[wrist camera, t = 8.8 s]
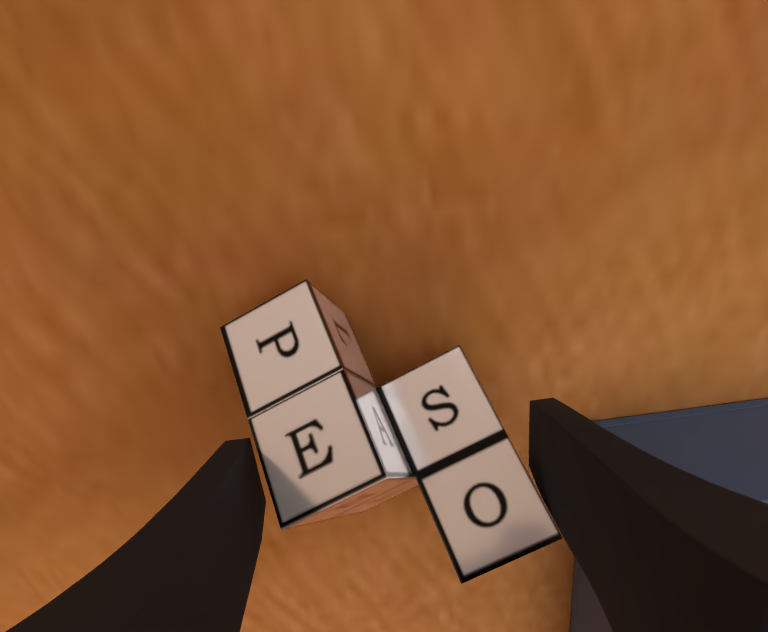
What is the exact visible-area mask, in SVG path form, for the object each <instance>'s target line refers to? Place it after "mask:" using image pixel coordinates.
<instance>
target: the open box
mask: <svg viewBox="0 0 768 632" xmlns="http://www.w3.org/2000/svg"><path fill="white" fill-rule="evenodd" d="M593 422H594V423H596V424H598V425H599V426H601V427H603V428H604V429H606V430H608V431H609V432H611V433H613V434H615V435H616V436H618V437H620V438H622V439H623V440H625V441H627V442H629V443H630V444H632V445H634V446H636V447H638V448H640V449H641V450H643V451H645V452H647V453H649V454H651V455H653V456H655V457H657V458H659V459H661V460H663V461H665V462H667V463H669V464H671V465H673V466H675V467H677V468H679V469H682V470H684V471H686V472H688V473H691V474H693V475H695V476H697V477H700V478H702V479H704V480H706V481H709V482H711V483H714V484H716V485H719V486H721V487H724V488H726V489H729V490H731V491H734V492H737V493H740V494H742V495H745V496H748V497H750V498H753V499H756V500H759V501H761V502H764V503H767V504H768V398H766V399H758V400H751V401H743V402H736V403H728V404H721V405H713V406H706V407H698V408H690V409H683V410H675V411H668V412H660V413H653V414H645V415H638V416H630V417H623V418H615V419H608V420H600V421H593ZM570 632H613V631H612V629H611V626H610V624H609V622H608V620H607V618H606V615H605V613H604V611H603V609H602V606H601V604H600V602H599V600H598V598H597V596H596V594H595V592H594V590H593V588H592V586H591V584H590V582H589V581H588V579H587V577H586V575H585V574H584V572H583V570H582V568H581V567H580V565H579V563H578V561H577V560H576V558H575V566H574V581H573V596H572V610H571V625H570Z"/></svg>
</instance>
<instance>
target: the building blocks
mask: <svg viewBox="0 0 768 632" xmlns="http://www.w3.org/2000/svg"><path fill="white" fill-rule="evenodd" d="M220 328H221V331H222V335H223V338H224V341H225V345H226V348H227V351H228V355H229V358H230V361H231V365H232V368H233V371H234V375H235V378H236V381H237V384H238V388H239V391H240V394H241V398H242V401H243V404H244V408H245V411H246V414H247V418H248V421H249V424H250V428H251V431H252V434H253V438H254V441H255V444H256V448H257V451H258V454H259V458H260V461H261V464H262V468H263V471H264V474H265V478H266V481H267V484H268V487H269V491H270V494H271V497H272V501H273V504H274V507H275V511H276V514H277V517H278V521H279V524H280V527H281V530H285V529H290V528H294V527H298V526H303V525H307V524H312V523H316V522H321V521H325V520H330V519H334V518H339V517H343V516H348V515H352V514H356V513H361V512H363V511H365V510H367V509H369V508H371V507H373V506H376V505H378V504H380V503H382V502H384V501H386V500H388V499H390V498H392V497H394V496H396V495H398V494H400V493H402V492H404V491H407V490H409V489H411V488H413V487H415V486H417V485H419V487H420V489H421V492H422V494H423V496H424V498H425V501H426V503H427V505H428V508H429V510H430V512H431V515H432V517H433V519H434V522H435V524H436V526H437V529H438V531H439V533H440V535H441V538H442V540H443V542H444V545H445V547H446V549H447V552H448V554H449V556H450V559H451V561H452V563H453V566H454V568H455V570H456V573H457V575H458V577H459V579H460V582H461V584H462V583H464V582H466V581H469V580H471V579H473V578H475V577H478V576H480V575H482V574H484V573H486V572H489V571H491V570H493V569H495V568H498V567H500V566H502V565H504V564H506V563H509V562H511V561H513V560H515V559H518V558H520V557H522V556H524V555H526V554H529V553H531V552H533V551H535V550H538V549H540V548H542V547H544V546H546V545H549V544H551V543H553V542H555V541H557V540H560V539H562V536H561V534H560V532H559V530H558V527H557V526H556V524H555V522H554V520H553V518H552V516H551V514H550V512H549V511H548V509H547V507H546V505H545V503H544V501H543V499H542V497H541V496H540V494H539V492H538V490H537V488H536V486H535V484H534V482H533V481H532V479H531V477H530V475H529V473H528V471H527V469H526V467H525V466H524V464H523V462H522V460H521V458H520V456H519V454H518V452H517V451H516V449H515V447H514V445H513V443H512V441H511V439H510V437H509V436H508V434H507V432H506V430H505V428H504V426H503V424H502V422H501V421H500V419H499V417H498V415H497V413H496V411H495V409H494V407H493V406H492V404H491V402H490V400H489V398H488V396H487V394H486V392H485V391H484V389H483V387H482V385H481V383H480V381H479V379H478V377H477V376H476V374H475V372H474V370H473V368H472V366H471V364H470V363H469V361H468V359H467V357H466V356H465V354H464V352H463V350H462V348H461V347H460V345H459V346H457V347H455V348H453V349H451V350H449V351H447V352H445V353H443V354H442V355H440V356H438V357H436V358H434V359H432V360H430V361H428V362H426V363H424V364H422V365H420V366H418V367H416V368H414V369H413V370H411V371H409V372H407V373H405V374H403V375H401V376H399V377H397V378H395V379H393V380H391V381H389V382H387V383H385V384H384V385H382V386H380V387H378V388H377V387H376V385H375V383H374V381H373V378H372V376H371V374H370V371H369V369H368V367H367V364H366V362H365V360H364V357H363V355H362V353H361V350H360V348H359V346H358V344H357V341H356V339H355V337H354V334H353V332H352V330H351V327H350V325H349V323H348V320H347V318H346V316H345V313H344V311H342V310H341V309H340V308H339V307H338V306H337V305H336V304H334V303H333V302H332V301H331V300H330V299H329V298H327V297H326V296H325V295H324V294H323V293H322V292H320V291H319V290H318V289H317V288H316V287H315V286H313V285H312V284H311V283H310V282H309V281H308V280H304V281H302V282H301V283H299V284H297V285H295V286H293V287H292V288H290V289H288V290H286V291H284V292H283V293H281V294H279V295H277V296H276V297H274V298H272V299H270V300H268V301H267V302H265V303H263V304H261V305H259V306H258V307H256V308H254V309H252V310H250V311H249V312H247V313H245V314H243V315H242V316H240V317H238V318H236V319H234V320H233V321H231V322H229V323H227V324H225V325H224V326H222V327H220Z"/></svg>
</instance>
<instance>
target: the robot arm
mask: <svg viewBox="0 0 768 632" xmlns="http://www.w3.org/2000/svg"><path fill="white" fill-rule="evenodd" d="M529 467H530V469H531V472H532V474H533V477H534V479H535V482H536V485H537V487H538V489H539V492H540V494H541V496H542V499H543V501H544V503H545V505H546V506H547V508H548V510H549V512H550V514H551V515H552V517H553V519H554V521H555V523H556V524H557V526H558V528H559V530H560V531H561V533H562V535H563V537H564V538H565V540H566V542H567V544H568V545H569V547H570V549H571V551H572V553H573V554H574V556H575V558H576V560H577V561H578V563H579V565H580V567H581V568H582V570H583V572H584V574H585V575H586V577H587V579H588V581H589V582H590V584H591V586H592V588H593V590H594V592H595V594H596V596H597V598H598V600H599V602H600V604H601V606H602V609H603V611H604V613H605V615H606V618H607V620H608V622H609V624H610V626H611V629H612V631H613V632H768V504H767V503H764V502H761V501H759V500H756V499H753V498H750V497H748V496H745V495H742V494H740V493H737V492H734V491H731V490H729V489H726V488H724V487H721V486H719V485H716V484H714V483H711V482H709V481H706V480H704V479H702V478H700V477H697V476H695V475H693V474H691V473H688V472H686V471H684V470H682V469H679V468H677V467H675V466H673V465H671V464H669V463H667V462H665V461H663V460H661V459H659V458H657V457H655V456H653V455H651V454H649V453H647V452H645V451H643V450H641V449H640V448H638V447H636V446H634V445H632V444H630V443H629V442H627V441H625V440H623V439H622V438H620V437H618V436H616V435H615V434H613V433H611V432H609V431H608V430H606V429H604V428H603V427H601V426H599V425H598V424H596V423H594V422H593V421H591V420H590V419H588V418H586V417H585V416H583V415H581V414H580V413H578V412H577V411H575V410H573V409H572V408H570V407H568V406H567V405H565V404H563V403H562V402H560V401H558V400H556V399H554V398H548V399H540V400H533V401H530V421H529ZM265 504H266V500H265V496H264V492H263V488H262V484H261V480H260V476H259V472H258V468H257V464H256V460H255V456H254V452H253V449H252V445H251V441H250V438H245V439H237V440H229V441H225V442H224V443H223V444H222V445H221V446H220V447H219V448H218V450H217V451H216V452H215V453H214V454H213V455H212V456H211V457H210V458H209V459H208V461H207V462H206V463H205V464H204V465H203V466H202V467H201V468H200V469H199V471H198V472H197V473H196V474H195V475H194V476H193V477H192V478H191V479H190V480H189V481H188V482H187V483H186V485H185V486H184V487H183V488H182V489H181V490H180V491H179V492H178V493H177V494H176V495H175V496H174V497H173V498H172V499H171V500H170V501H169V502H168V503H167V504H166V505H165V506H164V507H163V508H162V509H161V510H160V511H159V512H158V513H157V514H156V515H155V516H154V517H153V518H152V519H151V520H150V521H149V522H148V523H147V524H146V525H145V526H144V527H143V528H142V529H141V530H140V531H138V532H137V533H136V534H135V535H134V536H133V537H132V538H131V539H130V540H128V541H127V542H126V543H125V544H124V545H123V546H122V547H120V548H119V549H118V550H117V551H116V552H114V553H113V554H112V555H111V556H110V557H108V558H107V559H106V560H105V561H104V562H102V563H101V564H100V565H99V566H97V567H96V568H95V569H94V570H92V571H91V572H90V573H88V574H87V575H86V576H84V577H83V578H82V579H80V580H79V581H78V582H76V583H75V584H73V585H72V586H71V587H69V588H68V589H67V590H65V591H64V592H63V593H61V594H60V595H59V596H57V597H56V598H55V599H53V600H52V601H51V602H49V603H48V604H46V605H45V606H43V607H42V608H40V609H39V610H38V611H36V612H35V613H33V614H32V615H30V616H29V617H27V618H26V619H24V620H23V621H21V622H20V623H18V624H17V625H15V626H14V627H12V628H10V629H9V630H7V631H6V632H240V628H241V624H242V619H243V615H244V611H245V607H246V603H247V599H248V595H249V591H250V586H251V582H252V578H253V574H254V570H255V566H256V562H257V557H258V553H259V549H260V544H261V540H262V532H263V524H264V514H265Z"/></svg>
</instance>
